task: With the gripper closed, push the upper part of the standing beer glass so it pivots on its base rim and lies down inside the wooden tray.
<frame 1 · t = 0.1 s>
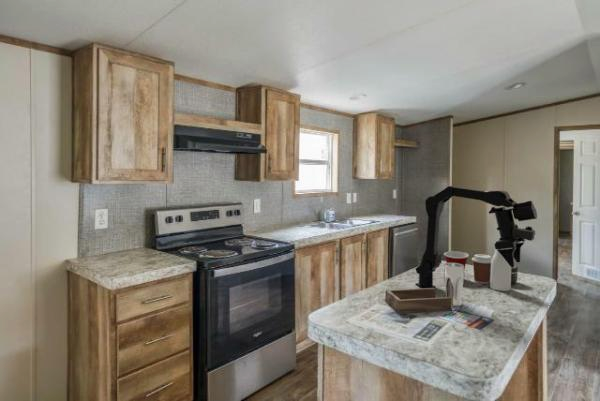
hand: (515, 264, 140), 15 cm above the counter, tool pointing down, fingers open, 9 cm apart
milk bottle: (500, 289, 160), on the counter
plastic cup: (455, 279, 176), on the counter
beer glass: (453, 304, 142), on the counter
coffee cup: (481, 282, 171), on the counter
wooden tray: (417, 305, 140), on the counter
jar: (504, 282, 170), on the counter
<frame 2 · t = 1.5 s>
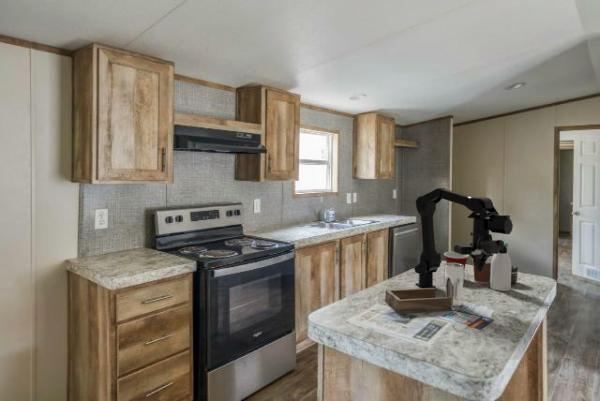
hand: (479, 271, 143), 12 cm above the counter, tool pointing down, fingers closed
nothing on the counter moved.
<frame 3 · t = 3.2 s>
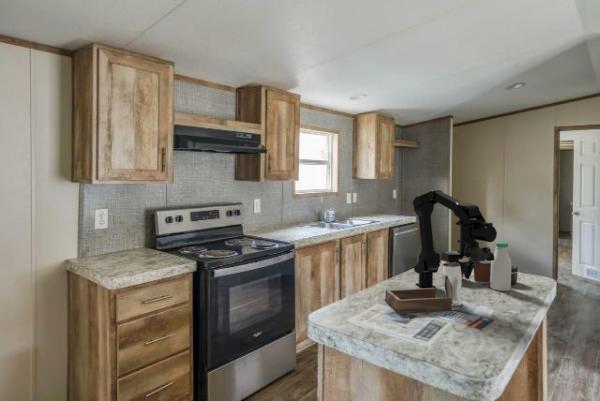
hand: (467, 278, 142), 9 cm above the counter, tool pointing down, fingers closed
beer glass: (453, 303, 142), on the counter, touching gripper
everything else where it was.
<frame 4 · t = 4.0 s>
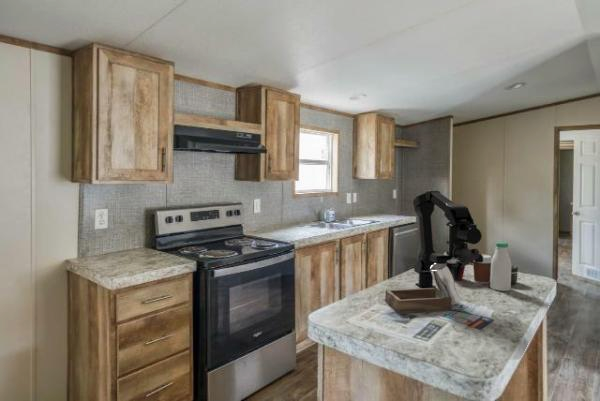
hand: (455, 280, 141), 9 cm above the counter, tool pointing down, fingers closed
beer glass: (452, 300, 142), point 1 cm above the counter
everything else where it was.
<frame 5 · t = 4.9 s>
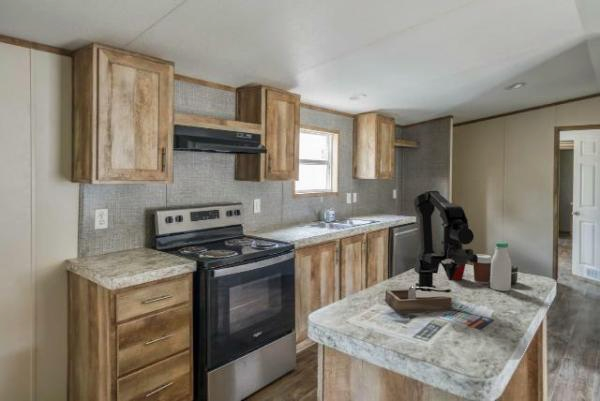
hand: (450, 280, 141), 9 cm above the counter, tool pointing down, fingers closed
beer glass: (449, 296, 140), point 3 cm above the counter, touching wooden tray
everything else where it was.
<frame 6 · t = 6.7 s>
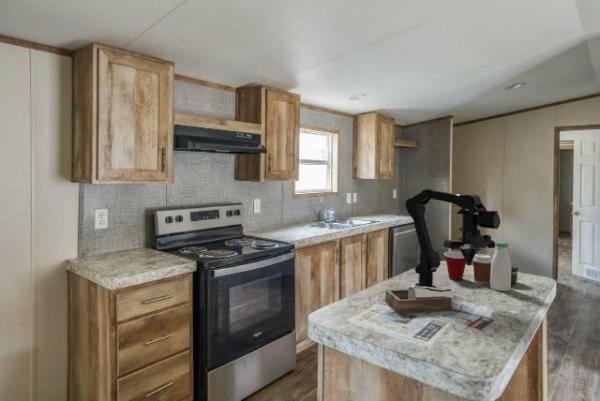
hand: (468, 265, 148), 13 cm above the counter, tool pointing down, fingers closed
nothing on the counter moved.
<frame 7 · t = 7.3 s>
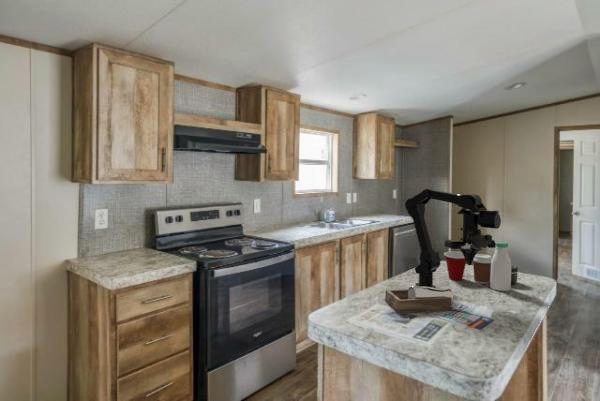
hand: (469, 265, 148), 13 cm above the counter, tool pointing down, fingers closed
nothing on the counter moved.
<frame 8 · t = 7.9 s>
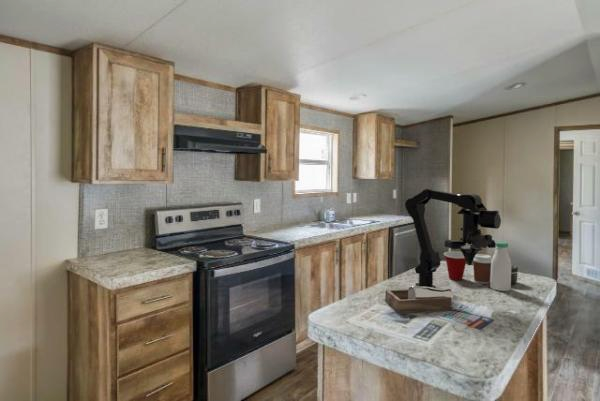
hand: (469, 265, 148), 13 cm above the counter, tool pointing down, fingers closed
nothing on the counter moved.
at the end: beer glass tilted 85°; beer glass inside the target area on the wooden tray (2.9 cm from its centre), point 3.3 cm above the wooden tray's base; beer glass touching wooden tray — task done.
